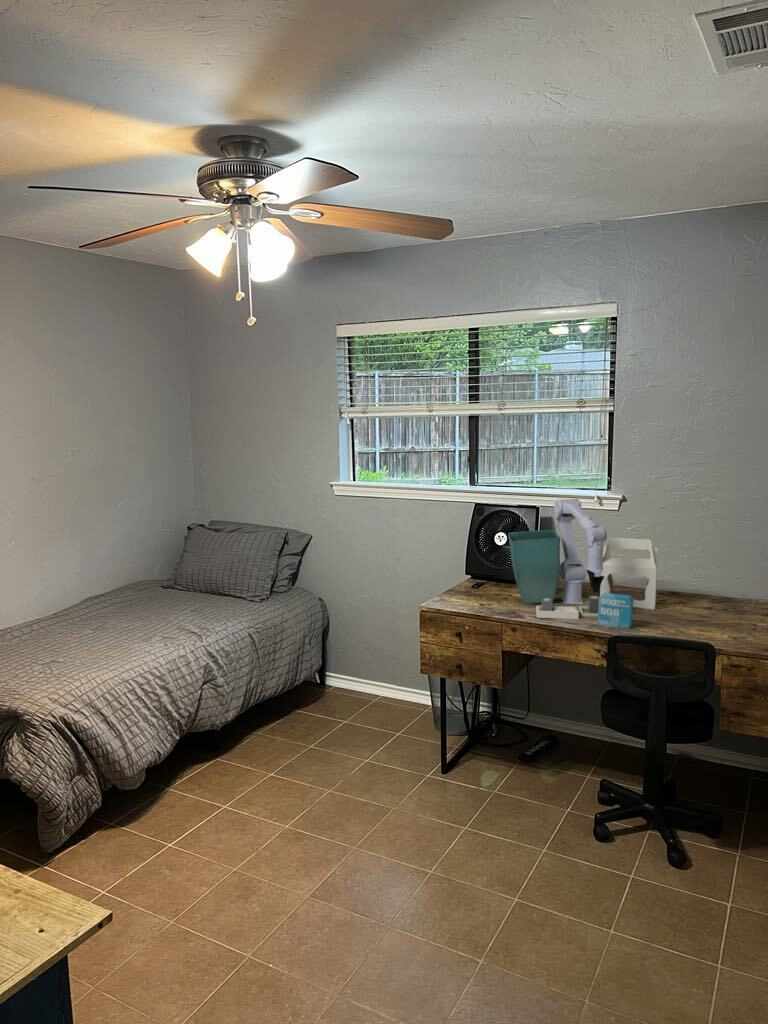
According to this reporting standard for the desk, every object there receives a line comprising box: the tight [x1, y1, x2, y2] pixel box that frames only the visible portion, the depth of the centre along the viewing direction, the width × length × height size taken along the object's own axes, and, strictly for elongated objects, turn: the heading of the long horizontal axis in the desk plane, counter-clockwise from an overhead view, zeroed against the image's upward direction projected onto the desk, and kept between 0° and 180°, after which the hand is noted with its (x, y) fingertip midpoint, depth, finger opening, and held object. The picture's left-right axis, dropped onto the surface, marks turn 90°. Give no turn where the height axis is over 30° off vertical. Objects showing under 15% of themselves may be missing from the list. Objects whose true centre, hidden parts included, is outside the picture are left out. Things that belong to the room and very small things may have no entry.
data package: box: [597, 593, 634, 630], centre depth 286 cm, size 12×4×12 cm, turn 63°
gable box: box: [599, 536, 659, 611], centre depth 316 cm, size 22×13×28 cm, turn 69°
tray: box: [577, 605, 598, 617], centre depth 304 cm, size 11×11×1 cm
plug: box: [587, 595, 600, 613], centre depth 303 cm, size 4×4×6 cm
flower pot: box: [507, 529, 561, 604], centre depth 322 cm, size 20×20×28 cm
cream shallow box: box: [535, 605, 580, 620], centre depth 300 cm, size 8×16×4 cm, turn 81°
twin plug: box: [540, 598, 553, 611], centre depth 300 cm, size 4×4×6 cm
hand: (594, 590), depth 302 cm, fingers open, 7 cm apart
